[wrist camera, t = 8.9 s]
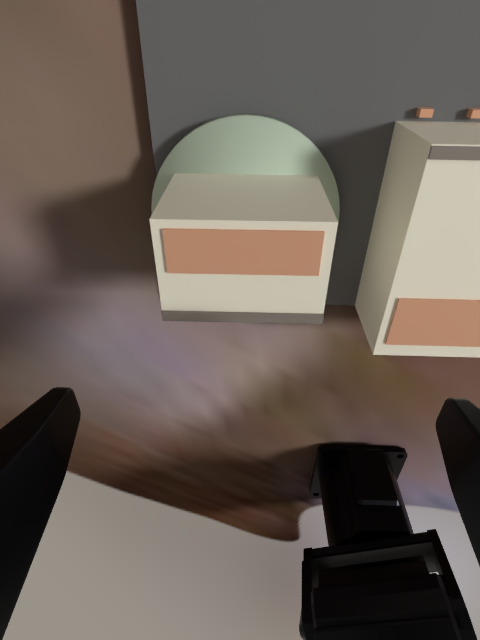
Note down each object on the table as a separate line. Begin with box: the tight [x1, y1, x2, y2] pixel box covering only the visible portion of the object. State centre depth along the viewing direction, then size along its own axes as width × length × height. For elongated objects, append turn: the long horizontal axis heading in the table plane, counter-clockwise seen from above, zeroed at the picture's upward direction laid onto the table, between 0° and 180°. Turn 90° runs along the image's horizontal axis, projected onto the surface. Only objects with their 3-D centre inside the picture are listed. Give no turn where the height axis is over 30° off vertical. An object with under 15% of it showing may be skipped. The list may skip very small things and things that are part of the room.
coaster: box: [151, 113, 340, 227], centre depth 18 cm, size 8×8×1 cm
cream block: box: [149, 173, 338, 324], centre depth 16 cm, size 4×6×5 cm, turn 90°
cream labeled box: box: [355, 121, 480, 357], centre depth 17 cm, size 9×6×4 cm, turn 179°
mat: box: [136, 0, 480, 305], centre depth 16 cm, size 17×21×1 cm
